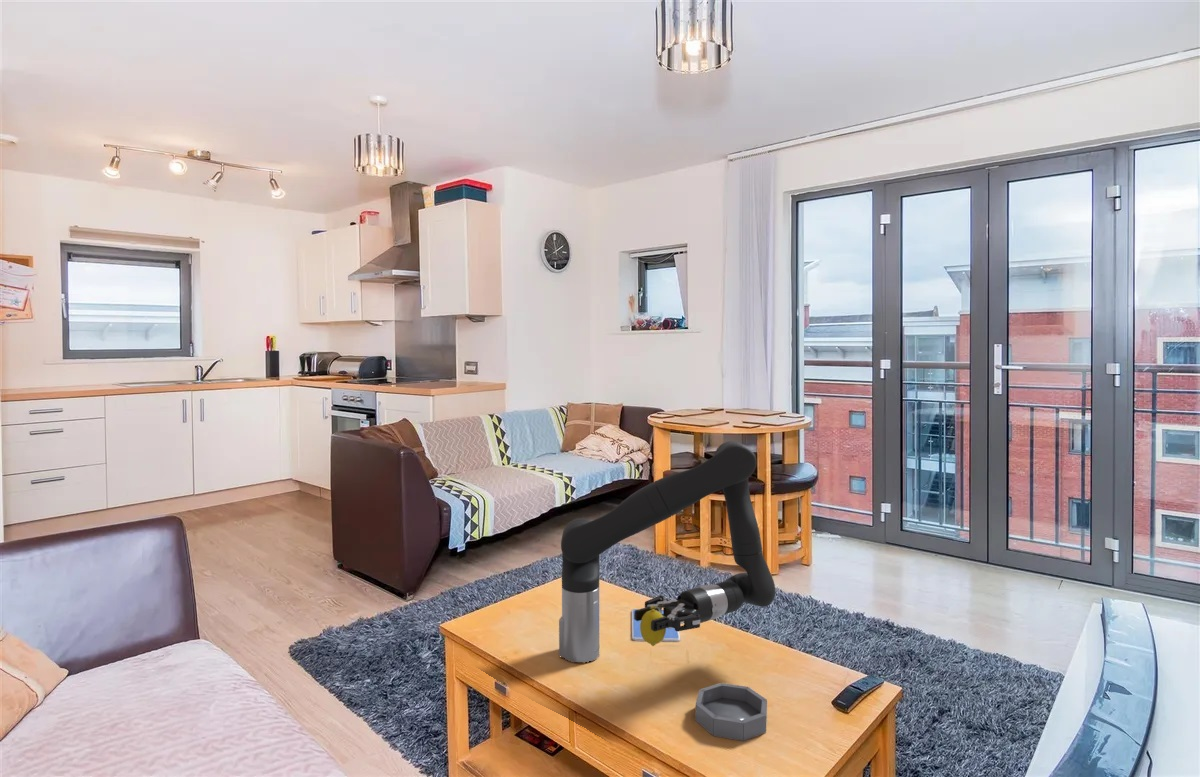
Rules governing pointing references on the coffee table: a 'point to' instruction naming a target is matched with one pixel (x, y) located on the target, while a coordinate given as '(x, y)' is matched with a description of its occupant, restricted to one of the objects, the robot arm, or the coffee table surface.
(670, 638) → the tablet computer
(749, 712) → the bowl
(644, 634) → the lemon
